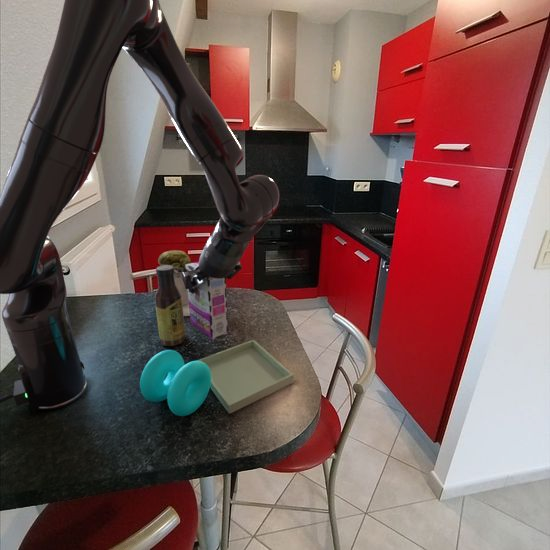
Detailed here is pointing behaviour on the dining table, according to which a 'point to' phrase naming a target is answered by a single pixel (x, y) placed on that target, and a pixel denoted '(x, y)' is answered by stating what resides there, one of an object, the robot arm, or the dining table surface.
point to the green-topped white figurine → (178, 273)
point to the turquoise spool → (176, 382)
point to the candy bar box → (209, 306)
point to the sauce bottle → (169, 308)
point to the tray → (245, 375)
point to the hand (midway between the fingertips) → (203, 287)
